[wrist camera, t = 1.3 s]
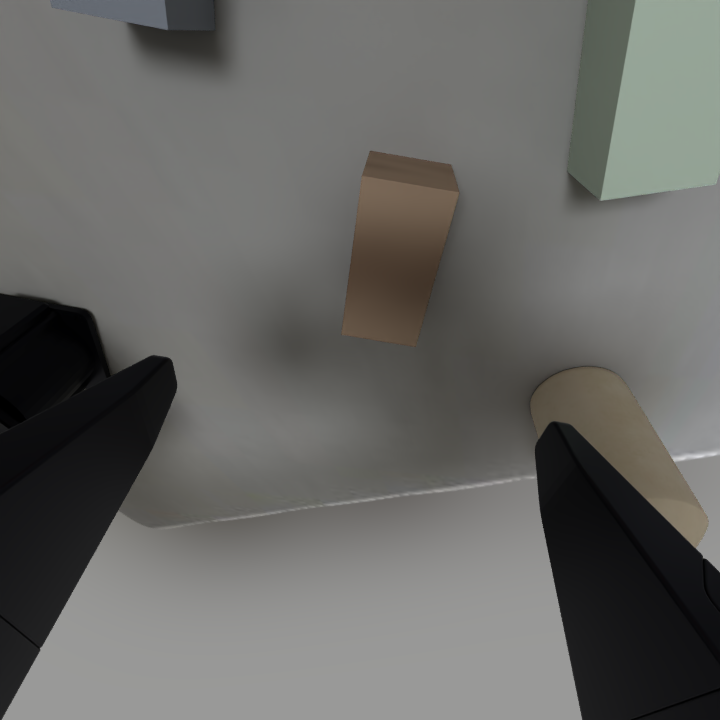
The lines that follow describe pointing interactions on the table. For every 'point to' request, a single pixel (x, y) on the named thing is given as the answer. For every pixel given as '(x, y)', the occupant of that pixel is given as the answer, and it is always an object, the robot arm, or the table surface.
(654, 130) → the sage block
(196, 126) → the table surface
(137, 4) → the charcoal block
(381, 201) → the walnut block
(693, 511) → the candle
